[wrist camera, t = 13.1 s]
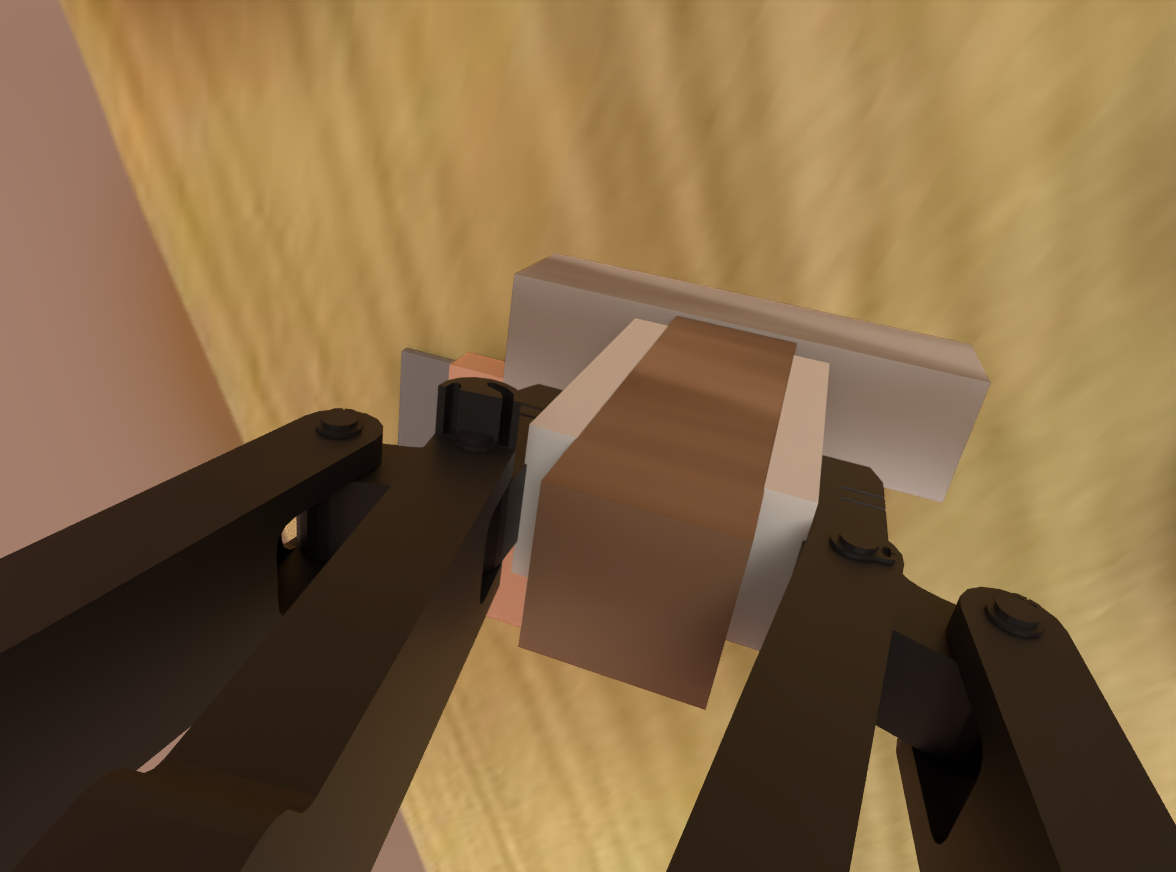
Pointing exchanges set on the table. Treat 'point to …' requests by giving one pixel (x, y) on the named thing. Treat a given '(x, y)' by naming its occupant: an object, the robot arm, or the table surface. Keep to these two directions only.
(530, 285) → the two-tone t block
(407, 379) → the mat
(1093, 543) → the table surface
